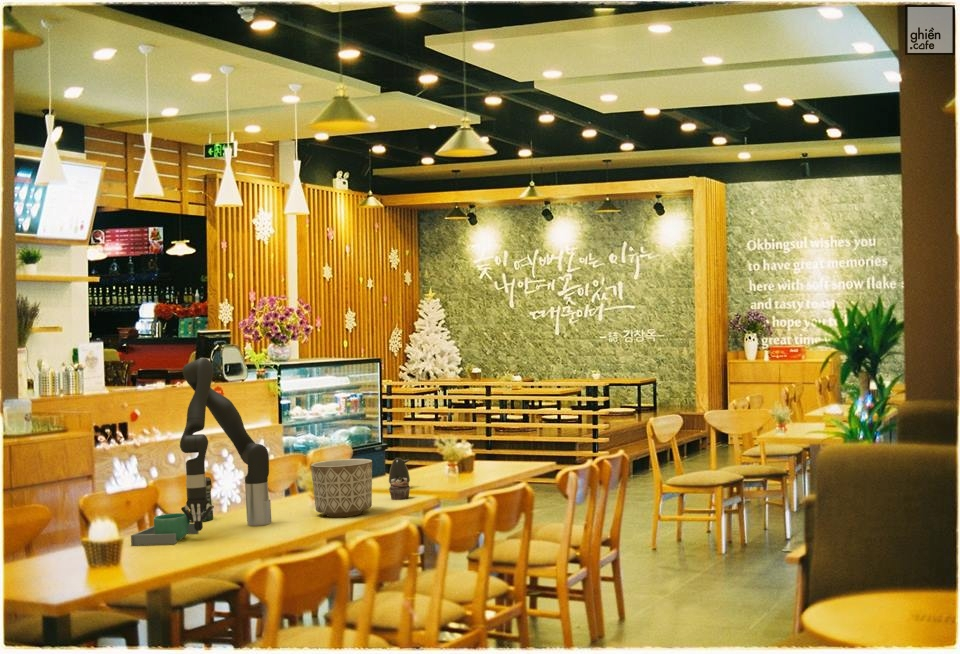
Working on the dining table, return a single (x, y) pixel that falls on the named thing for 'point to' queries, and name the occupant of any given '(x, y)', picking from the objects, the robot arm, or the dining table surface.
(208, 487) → the coffee jar
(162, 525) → the mug
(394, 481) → the cupcake
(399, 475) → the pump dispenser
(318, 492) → the planter
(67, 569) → the dining table surface
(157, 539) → the tray
